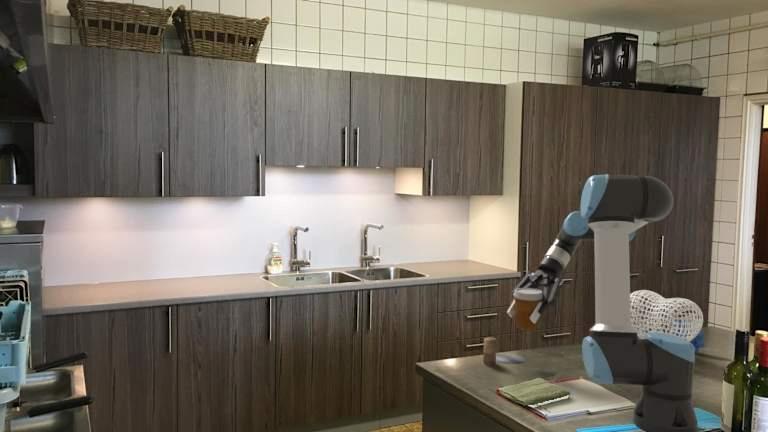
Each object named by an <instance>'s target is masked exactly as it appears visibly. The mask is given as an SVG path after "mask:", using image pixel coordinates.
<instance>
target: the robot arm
mask: <svg viewBox="0 0 768 432" xmlns="http://www.w3.org/2000/svg"><path fill="white" fill-rule="evenodd" d="M673 206H674V197H673V193H672V191H671V189H670V187H668V185H667V184H666V183H664V182H663V181H662V180H660V179H659V178H656V177H653V176H649V175H628V174H627V175H626V174H610V173H609V174H608V173H606V174H594V175H592V176H590V177H588V179H587V180H586V182H585V184H584V187H583V190H582V193H581V198H580V206H579V207H580V209H579V210H580V211H579V210H576V211H575V210H574V211H572V212H570V213H569V214H568V216H567V217H566V218H565V219H564V220H563V221H564V222H563V223H562V226H561V228H560V230H559V232H558V234H557V235H556V238H554V241H553V242H552V244H551V246H550V248H548V250H547V252H546V253H545V255H544V257H543V258H542V260H541V261H540V263H539V264H538V269H537V270H536V271H535V272H531V271H530V270H528V271H527V272H525V273H526V274H525V276H524V277H523V278H522V279H521V280H520V281H519V282H518V284H517V285H516V286H515V287H514V288H513V290H512V291H511V294H512V296H513V299H512V300H511V302H510V306H509V308H508V309H507V311H506V314H508V316H509V317H510V318H513V317H514V315H516V308H515V297H514V295H513V293H514V292H515V289H518V288H532V289H537V288H539V287H540V288H541V287H542V288H543V291H542V293H543V299H542V300H541V301H542V302H539V303H538V305H537V307H536V308H535V310H534V312H533V313H532V315H531V317H530V319H531V321H532V322H533V323H536V321H537V320H538V321H539V319H540V316H541V315H544V313H545V311H546V309H547V308H548V307H551V308H553V307H555V306H556V302H557V300H558V297H559V294H560V291H561V288H562V287H563V286H564V284H565V282H564V280H563V278H562V277H561V276H562V273H563V272H564V269H566V267H567V265H568V263H569V262H570V260H571V258H572V257H573V255H574V254H575V251H576V250H577V249H578V247H579V245H580V244H581V243H582V241H593V242H594V243H593V244H594V245H593V247H594V293H595V294H594V295H595V296H594V297H595V298H594V299H595V300H594V303H595V305H594V307H595V312H594V313H595V323H594V325H593V326H592V327H590V329H589V335H588V336H587V335H586V337H584V338H583V340H582V346H581V353H582V355H581V356H582V360H583V364H584V365H583V366H584V369H585V371H586V374H587V376H588V377H589V380H591V381H592V382H593V383H595V384H602V385H603V384H604V385H608V386H612V385H618V386H619V385H620V386H625V385H626V386H642V390H641V393H640V395H639V398H638V401H637V403H636V406H635V408H634V410H633V416H632V417H633V418H632V421H633V423H634V424H635V426H637V427H638V428H640V429H642V430H643V431H645V432H698V424H699V423H698V419H697V415H696V411H695V408H694V404H693V400H692V399H693V398H692V397H693V396H692V395H693V383H694V373H695V362H696V359H695V354H696V353H695V350H694V346H693V345H692V344H691V343H690V342H689V341H687V340H685V339H683V338H680V337H677V336H674V335H672V334H671V335H670V333H669V334H666V333H665V332H664V333H660V332H648V331H647V332H646V335H644V336H645V337H644V338H645V339H640V338H639V337H638V336H637V330H635V329H636V328H635V327H634V328H635V329H634V328H633V327H632V325H631V323H632V322H631V318H632V316H631V314H632V312H631V310H630V308H631V305H630V303H631V301H630V294H631V276H630V275H631V273H630V271H631V270H630V241H632V240H633V239H634V237H635V235H636V231H637V230H638V229H641V228H642V227H644V226H646V225H647V224H648V223H657V222H660V221H661V220H663V219H665V218H666V217H667V216H668V215H669V214H670V213H671V212H672V209H673ZM538 318H539V319H538Z"/></svg>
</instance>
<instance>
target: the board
mask: <svg viewBox="0 0 768 432" xmlns="http://www.w3.org/2000/svg"><path fill="white" fill-rule="evenodd" d="M526 360H527V359H526V358H525V357H523V356H521V355H518V354H513V353H496V364H495V365H485V364H483V361H481V364H482V365H483V366H487V367H495V366H497V365H498V363H501V364H506V365H519V364H520V365H521V364H523V363H526Z"/></svg>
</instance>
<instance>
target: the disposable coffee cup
mask: <svg viewBox="0 0 768 432" xmlns="http://www.w3.org/2000/svg"><path fill="white" fill-rule="evenodd" d="M513 295H514V296H513ZM512 296H513V298H514V297H515V308H516V312H515V318H516V327H517V329H519V330H523V331H524V330H525V331H534V330H536V329H537V328H538V325H539V319H540V317H539V318H538V320H537V321H536V323H533V322H532V321H531V319H530V317H531V315H532V313H533V312H534V310H535V308H536V307H537V305H538V303H539V302H542V301H541V300H543V291H542V290H541V289H537V288H535V289H532V288H518V289H515V292H514V293H513V294H512ZM542 303H543V302H542Z"/></svg>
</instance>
